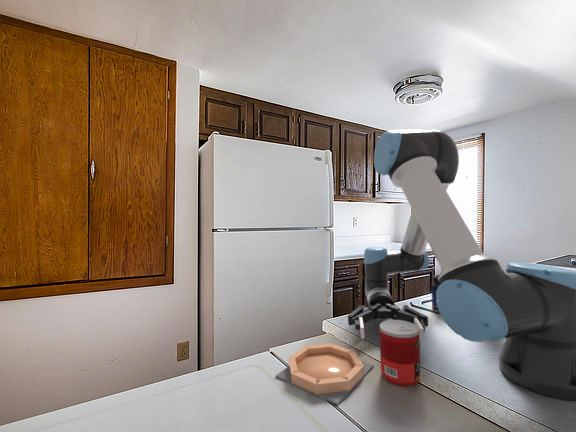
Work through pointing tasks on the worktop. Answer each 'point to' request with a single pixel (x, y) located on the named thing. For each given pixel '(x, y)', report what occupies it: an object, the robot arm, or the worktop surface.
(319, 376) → the bowl
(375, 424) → the worktop surface
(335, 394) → the mat
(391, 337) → the canned food
